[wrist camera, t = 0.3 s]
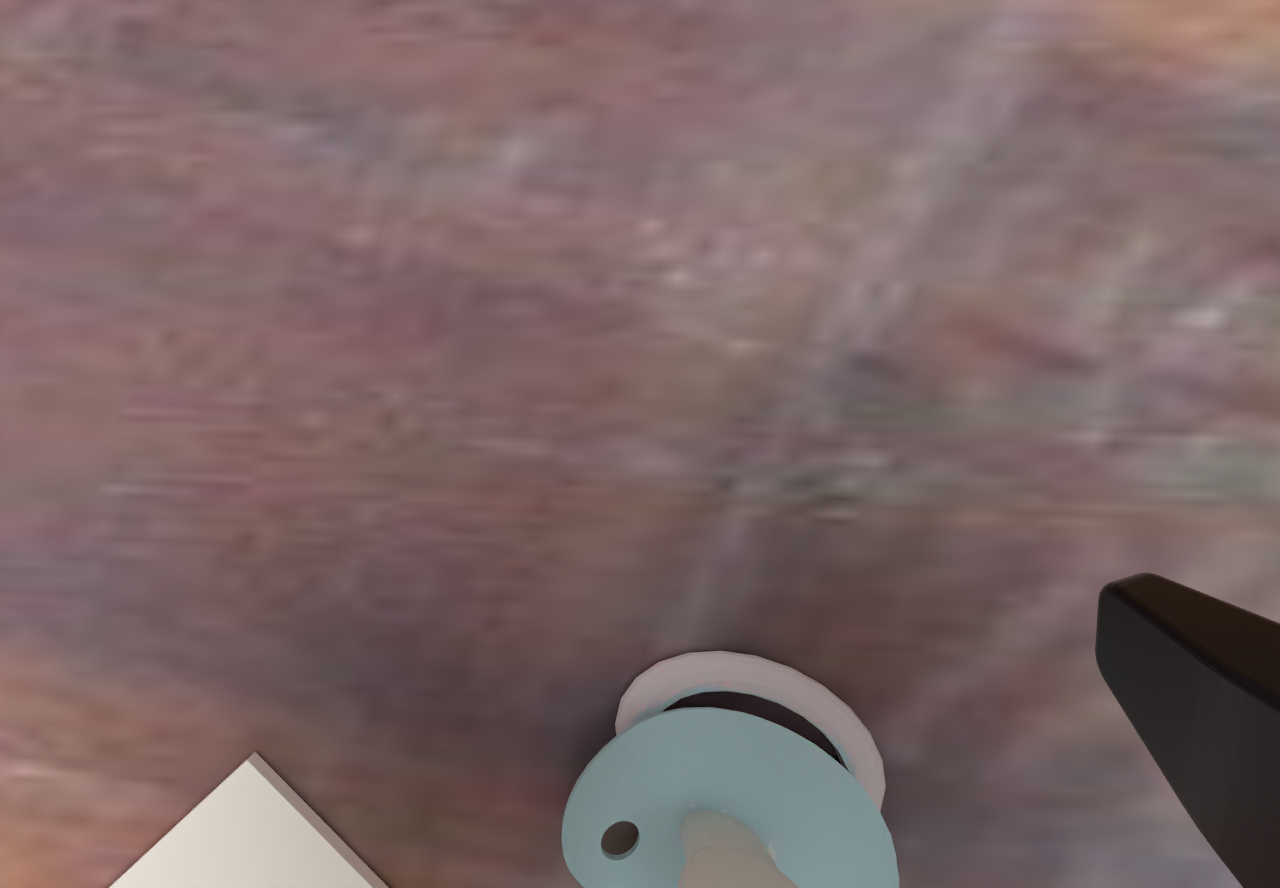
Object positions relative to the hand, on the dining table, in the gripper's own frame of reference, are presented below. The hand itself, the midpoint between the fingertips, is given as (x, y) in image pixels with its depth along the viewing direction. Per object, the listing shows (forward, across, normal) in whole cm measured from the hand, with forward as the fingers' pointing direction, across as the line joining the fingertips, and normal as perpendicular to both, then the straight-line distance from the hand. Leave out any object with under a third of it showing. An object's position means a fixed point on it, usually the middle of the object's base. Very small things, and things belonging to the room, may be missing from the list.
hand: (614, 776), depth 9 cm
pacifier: (+10, -2, +13) cm, 16 cm away
